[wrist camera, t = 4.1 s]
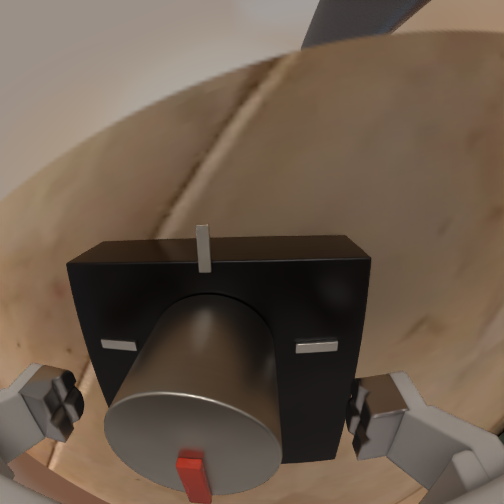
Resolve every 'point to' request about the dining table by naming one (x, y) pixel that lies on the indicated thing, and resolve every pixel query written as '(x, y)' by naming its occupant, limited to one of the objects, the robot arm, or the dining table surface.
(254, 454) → the hob knob
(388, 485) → the dining table surface
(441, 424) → the robot arm
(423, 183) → the dining table surface
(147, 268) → the dial base
